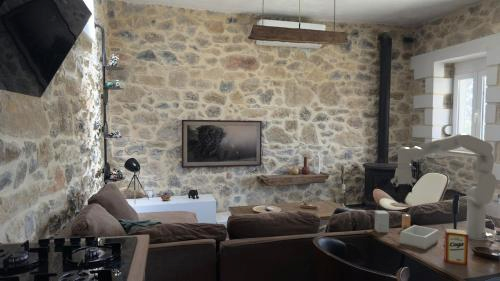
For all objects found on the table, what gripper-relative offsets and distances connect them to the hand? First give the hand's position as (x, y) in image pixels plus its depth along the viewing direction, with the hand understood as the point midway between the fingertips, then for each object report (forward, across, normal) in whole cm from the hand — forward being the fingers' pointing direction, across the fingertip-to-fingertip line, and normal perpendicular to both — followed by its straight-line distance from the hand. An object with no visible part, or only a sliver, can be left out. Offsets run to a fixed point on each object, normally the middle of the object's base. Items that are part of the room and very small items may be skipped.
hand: (403, 192), depth 223 cm
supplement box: (+26, +12, -4) cm, 29 cm away
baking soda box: (+26, +2, +49) cm, 56 cm away
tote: (+26, +2, +20) cm, 33 cm away
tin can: (+26, -5, -4) cm, 27 cm away
